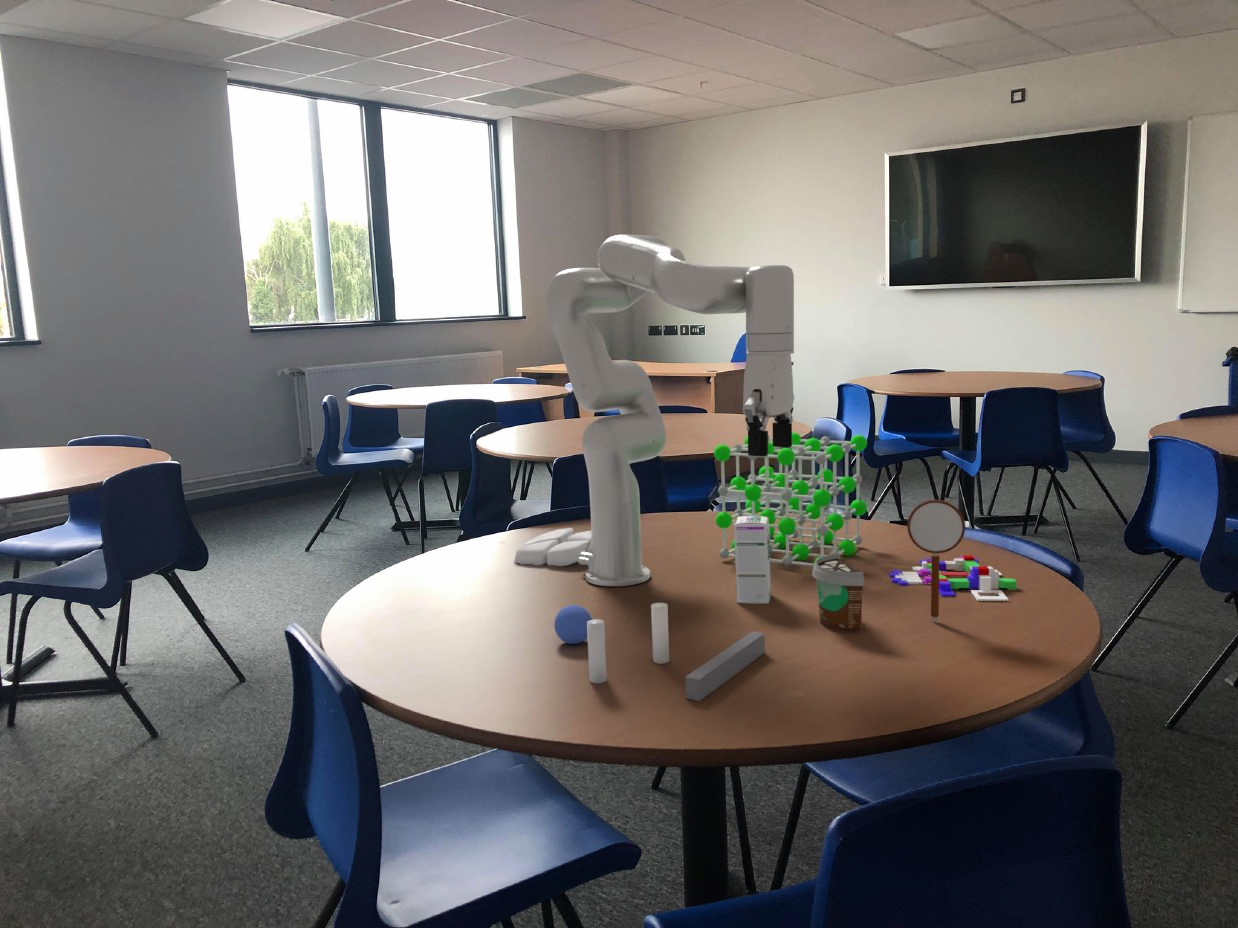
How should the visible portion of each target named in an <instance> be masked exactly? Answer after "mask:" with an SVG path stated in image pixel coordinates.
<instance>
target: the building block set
mask: <svg viewBox="0 0 1238 928" xmlns="http://www.w3.org/2000/svg"><path fill="white" fill-rule="evenodd" d="M931 562H932V558H924V559H919V564H920V563H921V564H920V566H918V565H917V566H912V570H914V571H918V572H914V571H903V570H900V569H899V570H897V569H895V570H893V569H892V572H888V576H889V578H890V579H891V582H892V583H894V584H897V585H898V584H899V585H908V586H909V585H929V584H928V583H931V576H928V575H931ZM979 563H980V561H979V559H978V558H977V557H976V558H975V557H974V555H961V556H960V557H957V558H956V557H955V558H953V560H944V561H943V560H942V561H941V560H939V592H940V593H939V595H940V594H941V595H942V596H955V597H956V593H955V592H954V590H952V589H968V588H969V589H979V590H969V591H971V593H972V594H973V595H974V597H975V598H976V600H977V601H979V600H980V601H983V600H984V601H985V600H986V601H988V600H989V601H991V600H992V601H993V600H994V601H996V600H997V601H999V600H1000V601H1001V600H1003V601H1005V600H1007V601H1008V602H1009V598H1008V597H1007V596H1006V595H1005V593H1004V592H1003V590H1001V589H1006V588H1009V589H1016V590H1017V580H1016V579H1015V578H1004V577H999V575H1002V576H1003V574H1002V573H1001V572H1000V571H999V570H998V569H994V567H993V566H981V565H980V564H979ZM921 565H922V566H921ZM947 570H952V571H947ZM940 571H946V572H940ZM955 571H964V572H955ZM919 576H925V577H924V578H921V577H919ZM946 576H967V577H951V578H948V577H946ZM891 577H894V578H891ZM919 583H920V584H919ZM921 583H922V584H921ZM923 583H924V584H923ZM925 583H927V584H925ZM899 585H898V586H899ZM992 588H993V589H994V588H998V590H991V589H992ZM971 593H970V594H971ZM978 593H997V594H998V595H999V596H998V595H997V594H996V595H981V594H978ZM972 594H971V595H972ZM941 595H940V596H941ZM973 595H972V596H973ZM942 596H941V597H942ZM974 597H973V598H974ZM975 598H974V599H975ZM976 600H975V601H976ZM977 601H976V602H977Z"/></svg>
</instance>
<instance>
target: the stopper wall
mask: <svg viewBox="0 0 1238 928" xmlns="http://www.w3.org/2000/svg"><path fill="white" fill-rule="evenodd" d="M765 639H766V638H765V633H763V632H759V631H751V632H749V633H748V634H746V635H744V636H743V637H742V638H740V639H739V640H737V641H736V642H734V643H733V644H732V645H730V646H728V647H727V648H726V649H724V650H723V651H722V652H720V653H717V655H715V656H714V657H712V658H711V659H709V660H708V661H707V662H705V663H703V664H702V665H701V666H699V667H697V669H694V670H693V671H692V672H690V673H689V674H687V675H686V676H685V697H686V698H685V699H688V700H693V701H696V702H701V701H702V700H703V699H705V698H706V697H707V696H708V695H710V694H711V693H712V692H714V691H715V690H717V689H718V688H719V687H720V686H722V685H723V684H725V683H727V682H728V680H729V681H730V679H731V678H733V677H735V675H737V674H738V673H740V672H741V671H742V670H744V669H745V668H747V667H748V666H749V665H750V664H751V663H753V662H754V661H755V660H757V659H759V657H761V656H762V655H764V654H765V652H766V648H765V644H766V643H765Z"/></svg>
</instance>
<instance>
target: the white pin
mask: <svg viewBox="0 0 1238 928" xmlns="http://www.w3.org/2000/svg"><path fill="white" fill-rule="evenodd" d="M668 608H669V607H668V603H665V602H654V603H651V605H650V609H651V610H650V611H651V612H650V613H651V614H650V615H651V636H652V638H651V639H652V661H653V663H655V664H661V665H663V664H668V663H669V662H670V645H669V644H670V643H669V637H670V636H669V616H668V615H669V611H668Z"/></svg>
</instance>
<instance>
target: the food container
mask: <svg viewBox="0 0 1238 928" xmlns="http://www.w3.org/2000/svg"><path fill="white" fill-rule="evenodd" d="M826 555H827V556H823V557H820V558H818V557H817V558H818V559H817V560H816V559H815V560H816V563H815V564H814V563H813V564H814V567H813V566H812V567H813V569H812V572H811V575H812V577H813V578H814V579H816V587H817V588H816V589H817V598H818V599H817V600H818V601H817V602H818V613H819V614H818V615H819V623H820V625H821V626H823V628H826V629H829V630H832V631H836V632H843V633H861V632H862V613H863V612H862V611H863V592H864V591H863V589H864V588H863V587H864V586H865V578H864V572H863V571H855V570H854V568H853V567H852V566H851V565H850V564H848V563H845V562H843V561H842V560H841V554H832V555H829V554H826Z"/></svg>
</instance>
